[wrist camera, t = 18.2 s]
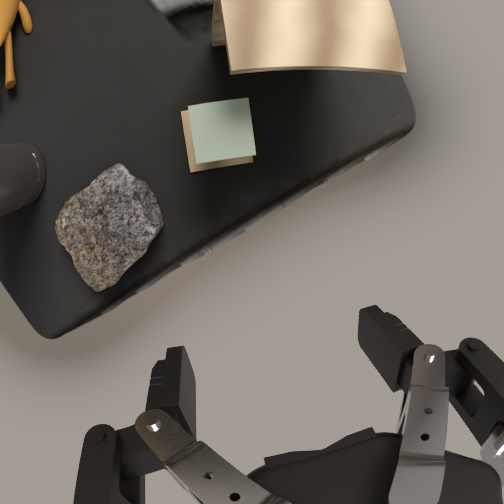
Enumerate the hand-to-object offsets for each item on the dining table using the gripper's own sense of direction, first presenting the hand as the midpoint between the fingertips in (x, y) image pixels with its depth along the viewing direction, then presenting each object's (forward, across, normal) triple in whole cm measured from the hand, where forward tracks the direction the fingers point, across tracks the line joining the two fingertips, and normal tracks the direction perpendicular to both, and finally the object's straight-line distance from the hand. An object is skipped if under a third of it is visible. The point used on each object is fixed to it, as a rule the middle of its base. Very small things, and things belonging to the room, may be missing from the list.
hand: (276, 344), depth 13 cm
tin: (+28, 0, -10) cm, 29 cm away
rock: (+28, +16, -2) cm, 33 cm away
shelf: (+28, -8, -19) cm, 35 cm away
